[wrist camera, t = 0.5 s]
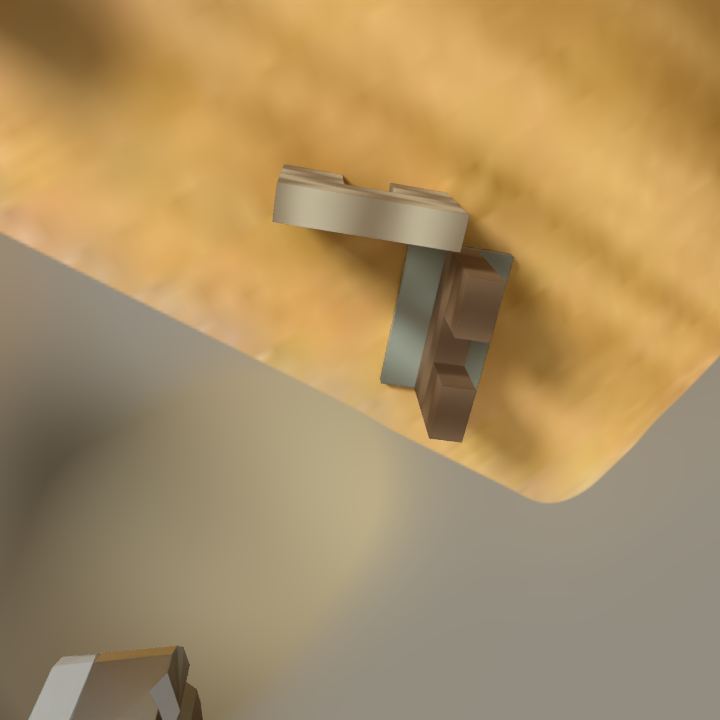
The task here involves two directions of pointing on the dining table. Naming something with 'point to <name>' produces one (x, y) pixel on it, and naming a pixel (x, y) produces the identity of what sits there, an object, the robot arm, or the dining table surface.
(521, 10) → the dining table surface
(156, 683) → the robot arm
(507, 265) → the walnut slotted plate
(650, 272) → the dining table surface
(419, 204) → the maple slotted plate
